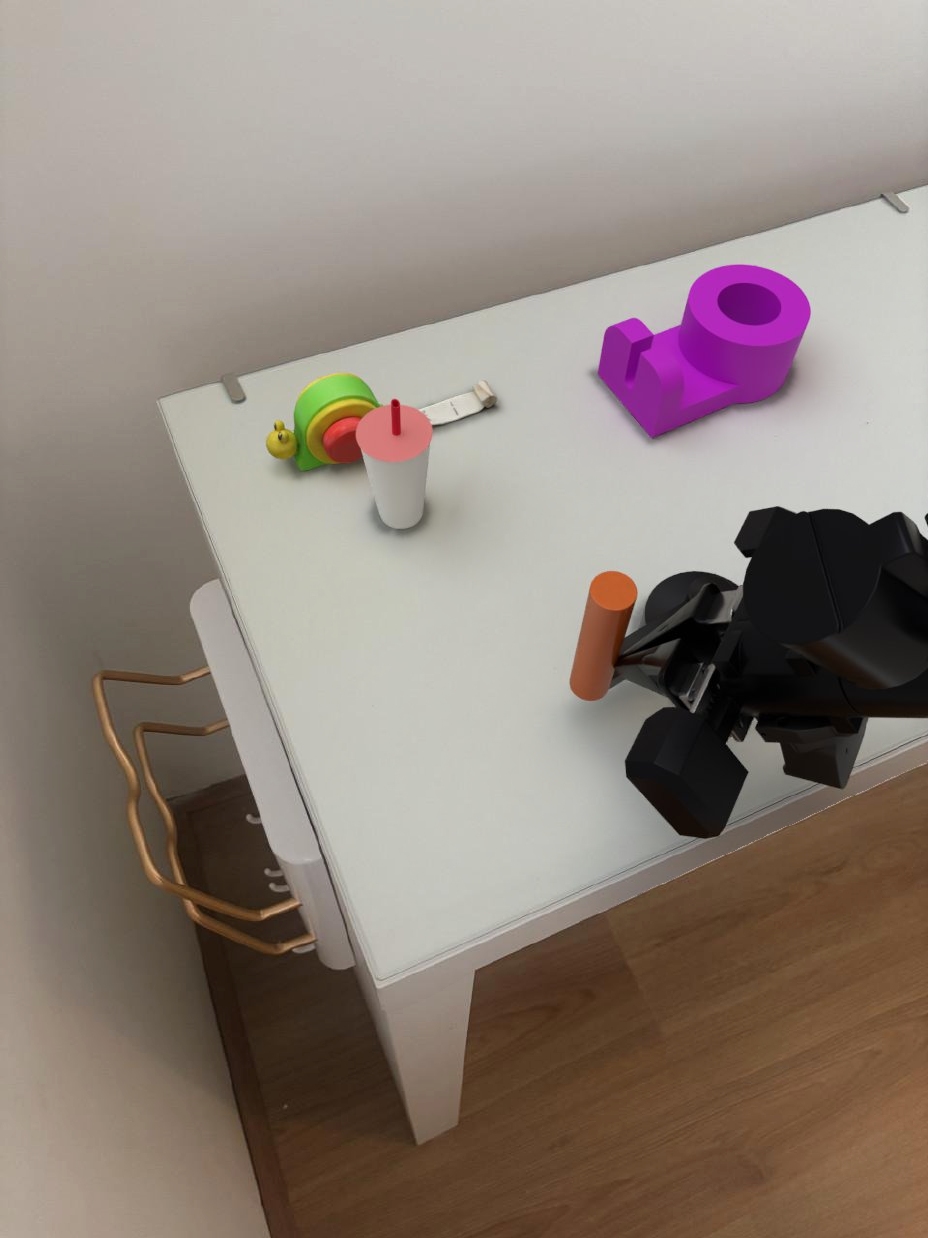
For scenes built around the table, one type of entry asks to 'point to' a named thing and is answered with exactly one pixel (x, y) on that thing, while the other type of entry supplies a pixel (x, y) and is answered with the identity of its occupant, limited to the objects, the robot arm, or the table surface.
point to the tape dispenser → (708, 348)
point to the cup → (396, 461)
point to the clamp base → (671, 594)
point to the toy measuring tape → (350, 419)
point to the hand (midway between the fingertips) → (619, 667)
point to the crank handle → (614, 630)
